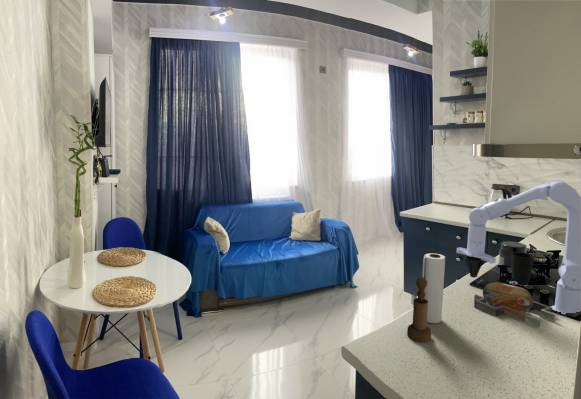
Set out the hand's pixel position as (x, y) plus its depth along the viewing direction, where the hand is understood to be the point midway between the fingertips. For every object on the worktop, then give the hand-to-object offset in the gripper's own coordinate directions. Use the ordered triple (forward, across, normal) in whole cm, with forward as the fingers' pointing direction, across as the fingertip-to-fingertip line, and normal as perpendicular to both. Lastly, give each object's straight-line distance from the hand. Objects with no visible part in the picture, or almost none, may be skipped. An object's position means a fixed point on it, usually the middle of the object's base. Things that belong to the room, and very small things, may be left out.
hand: (473, 276), depth 140 cm
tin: (+7, +13, +1) cm, 15 cm away
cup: (+7, +2, +26) cm, 27 cm away
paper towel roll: (+7, +6, -29) cm, 31 cm away
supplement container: (+7, -9, +38) cm, 40 cm away
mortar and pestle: (+7, +12, -40) cm, 42 cm away
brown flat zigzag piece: (+7, +15, 0) cm, 17 cm away
